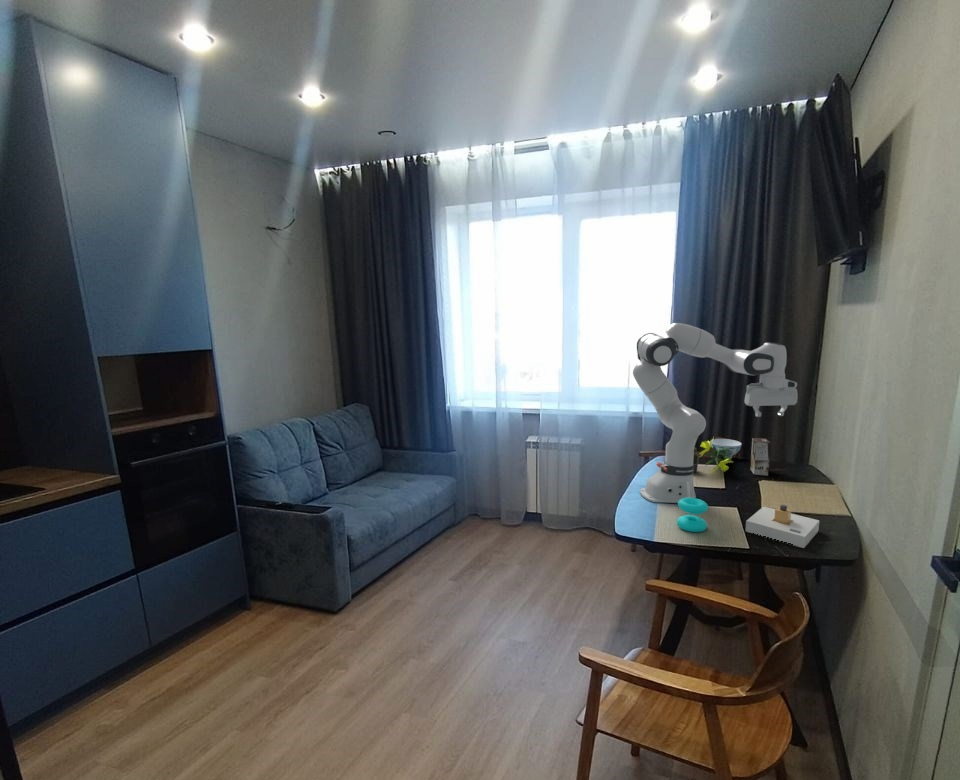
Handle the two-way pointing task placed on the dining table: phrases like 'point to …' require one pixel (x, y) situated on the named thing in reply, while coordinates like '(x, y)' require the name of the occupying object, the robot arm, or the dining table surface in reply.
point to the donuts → (692, 521)
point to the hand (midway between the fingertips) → (769, 416)
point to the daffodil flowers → (718, 460)
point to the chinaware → (726, 445)
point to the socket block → (783, 527)
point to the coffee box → (760, 456)
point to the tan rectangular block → (783, 515)
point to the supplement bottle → (695, 460)
